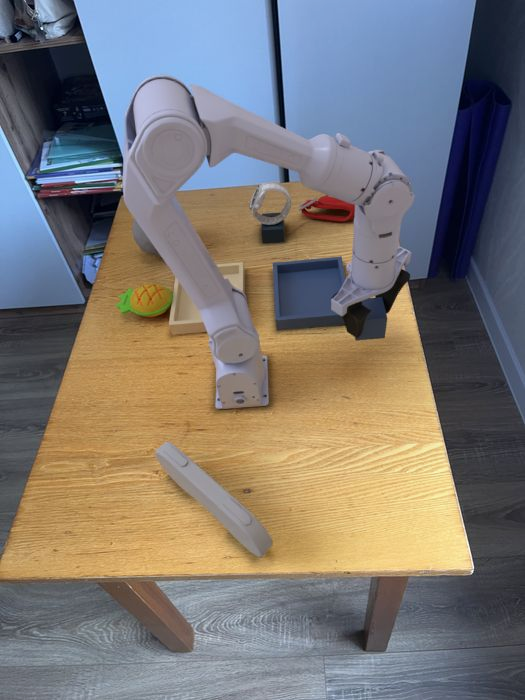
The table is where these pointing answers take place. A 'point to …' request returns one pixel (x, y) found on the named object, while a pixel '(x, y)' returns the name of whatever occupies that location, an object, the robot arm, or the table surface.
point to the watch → (270, 221)
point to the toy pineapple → (146, 300)
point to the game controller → (215, 499)
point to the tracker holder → (328, 203)
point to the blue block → (374, 320)
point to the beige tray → (186, 312)
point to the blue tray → (307, 292)
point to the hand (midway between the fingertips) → (368, 321)
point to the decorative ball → (143, 240)
